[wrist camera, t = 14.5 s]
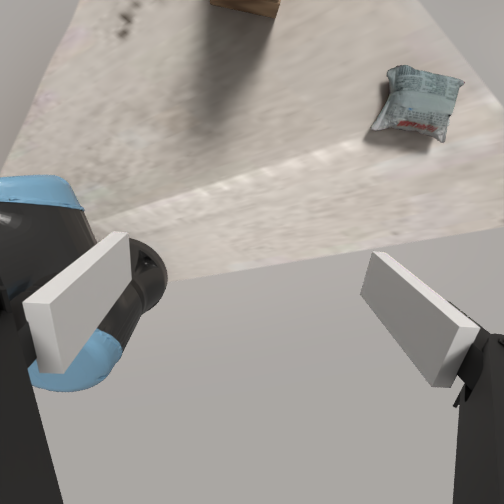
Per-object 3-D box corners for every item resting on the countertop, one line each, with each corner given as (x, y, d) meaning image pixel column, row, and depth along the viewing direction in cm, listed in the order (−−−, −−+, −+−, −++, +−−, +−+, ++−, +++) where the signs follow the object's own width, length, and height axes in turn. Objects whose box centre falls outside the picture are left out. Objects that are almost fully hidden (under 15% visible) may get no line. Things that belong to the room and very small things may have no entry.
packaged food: (432, 142, 47) (453, 142, 42) (365, 129, 46) (379, 128, 41) (454, 83, 44) (480, 76, 39) (383, 67, 42) (400, 58, 38)
